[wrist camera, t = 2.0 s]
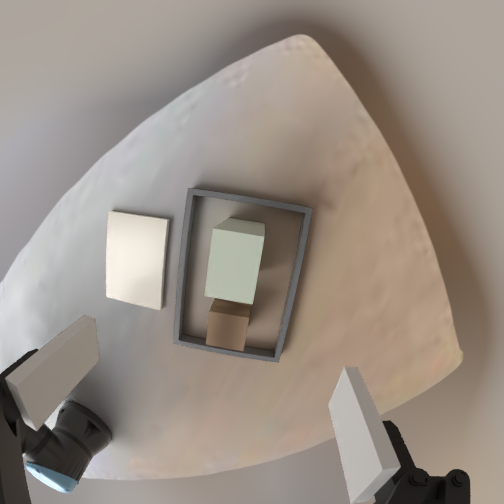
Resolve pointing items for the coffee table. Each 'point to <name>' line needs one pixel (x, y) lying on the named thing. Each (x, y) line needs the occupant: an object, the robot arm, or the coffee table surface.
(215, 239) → the sage box
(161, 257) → the tile
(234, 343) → the walnut block
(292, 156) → the coffee table surface
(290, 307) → the grey rectangular frame
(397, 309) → the coffee table surface
